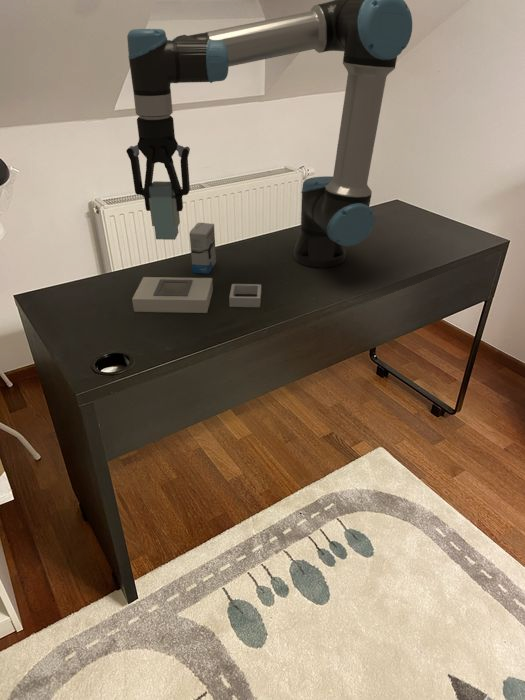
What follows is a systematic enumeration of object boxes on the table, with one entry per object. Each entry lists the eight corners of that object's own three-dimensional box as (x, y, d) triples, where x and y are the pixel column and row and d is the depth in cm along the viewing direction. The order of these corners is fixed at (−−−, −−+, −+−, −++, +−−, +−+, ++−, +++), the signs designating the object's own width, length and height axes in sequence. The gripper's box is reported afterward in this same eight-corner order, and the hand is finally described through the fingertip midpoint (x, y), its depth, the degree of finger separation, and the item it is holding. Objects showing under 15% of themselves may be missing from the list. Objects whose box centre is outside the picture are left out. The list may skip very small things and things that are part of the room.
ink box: (208, 274, 146) (206, 234, 139) (191, 273, 147) (188, 232, 140) (217, 262, 153) (214, 222, 146) (200, 260, 153) (198, 221, 147)
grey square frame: (261, 293, 136) (261, 284, 135) (260, 307, 130) (260, 298, 129) (232, 292, 137) (231, 283, 135) (229, 306, 130) (229, 297, 129)
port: (212, 290, 138) (212, 277, 136) (207, 312, 128) (206, 299, 126) (145, 289, 138) (143, 276, 136) (134, 311, 128) (131, 297, 126)
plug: (179, 232, 125) (174, 181, 119) (175, 239, 121) (170, 187, 115) (159, 232, 125) (153, 181, 119) (155, 239, 121) (148, 187, 115)
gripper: (199, 113, 112) (205, 219, 125) (117, 112, 112) (132, 218, 125) (194, 119, 105) (201, 230, 118) (107, 119, 106) (124, 229, 119)
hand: (166, 224), depth 122 cm, fingers closed on plug, 4 cm apart
